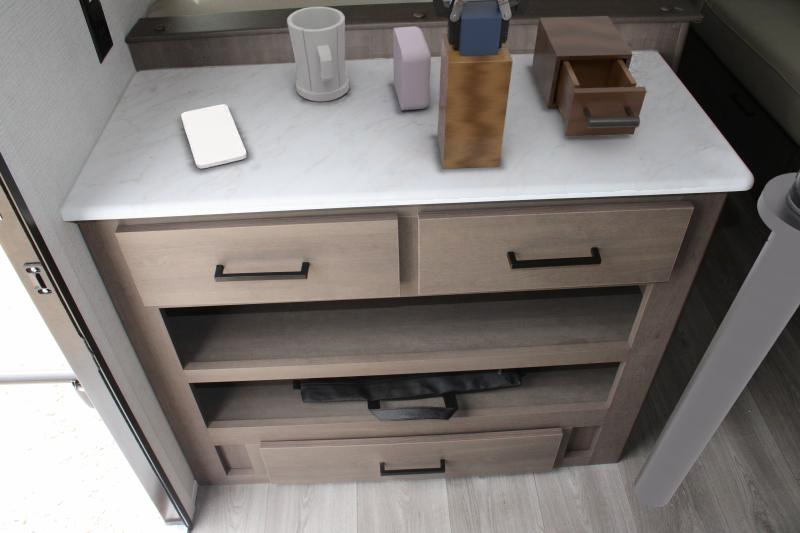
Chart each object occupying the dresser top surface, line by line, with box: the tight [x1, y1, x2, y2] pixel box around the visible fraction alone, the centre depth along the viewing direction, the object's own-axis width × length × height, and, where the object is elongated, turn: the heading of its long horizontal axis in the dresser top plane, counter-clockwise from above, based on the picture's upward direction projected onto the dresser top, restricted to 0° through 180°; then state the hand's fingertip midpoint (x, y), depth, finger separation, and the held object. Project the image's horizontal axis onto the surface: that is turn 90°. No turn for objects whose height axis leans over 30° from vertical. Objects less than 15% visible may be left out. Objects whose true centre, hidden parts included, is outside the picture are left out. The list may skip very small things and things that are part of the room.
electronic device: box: [392, 25, 432, 111], centre depth 100 cm, size 10×5×10 cm, turn 8°
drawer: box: [554, 59, 647, 137], centre depth 94 cm, size 17×10×7 cm, turn 2°
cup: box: [286, 6, 350, 103], centre depth 100 cm, size 10×9×12 cm
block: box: [458, 0, 502, 56], centre depth 79 cm, size 5×5×5 cm
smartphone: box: [180, 103, 248, 170], centre depth 95 cm, size 7×1×15 cm
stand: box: [437, 33, 514, 169], centre depth 86 cm, size 8×8×16 cm
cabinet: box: [531, 15, 633, 110], centre depth 102 cm, size 13×11×9 cm
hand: (476, 45), depth 81 cm, fingers closed on block, 4 cm apart
